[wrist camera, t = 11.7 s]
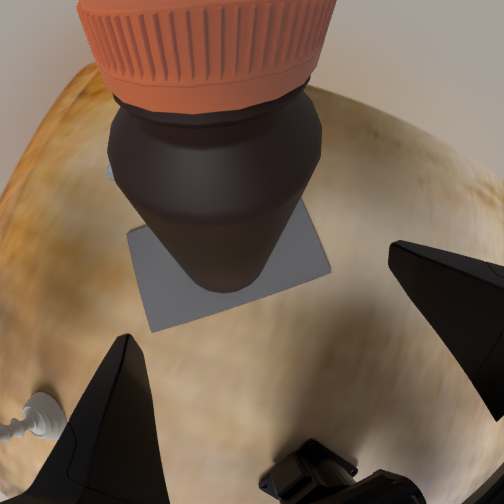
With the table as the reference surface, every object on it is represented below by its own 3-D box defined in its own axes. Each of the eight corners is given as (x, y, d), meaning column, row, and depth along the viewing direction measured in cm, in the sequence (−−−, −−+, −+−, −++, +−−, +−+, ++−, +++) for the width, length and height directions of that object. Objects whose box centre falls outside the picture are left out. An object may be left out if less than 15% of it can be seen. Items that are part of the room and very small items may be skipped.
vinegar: (212, 311, 21) (41, 162, 2) (165, 240, 22) (27, 6, 3) (284, 261, 22) (449, 29, 3) (234, 196, 23) (250, -63, 4)
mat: (329, 273, 23) (331, 272, 22) (152, 332, 20) (151, 332, 20) (293, 184, 25) (293, 182, 24) (128, 235, 22) (126, 233, 22)
